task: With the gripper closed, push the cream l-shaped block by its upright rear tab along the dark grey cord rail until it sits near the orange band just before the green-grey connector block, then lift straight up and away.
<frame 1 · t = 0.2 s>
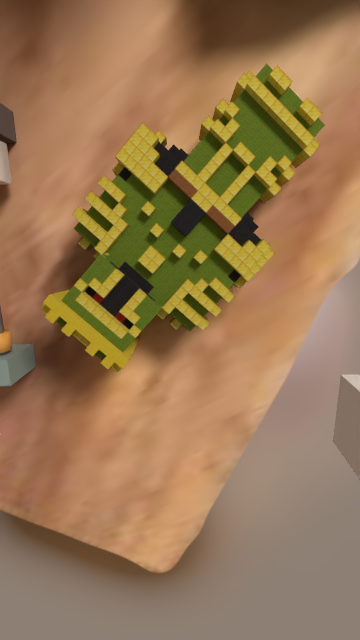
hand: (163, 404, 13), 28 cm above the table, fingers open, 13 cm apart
toy: (184, 227, 38), on the table
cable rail: (4, 250, 39), on the table
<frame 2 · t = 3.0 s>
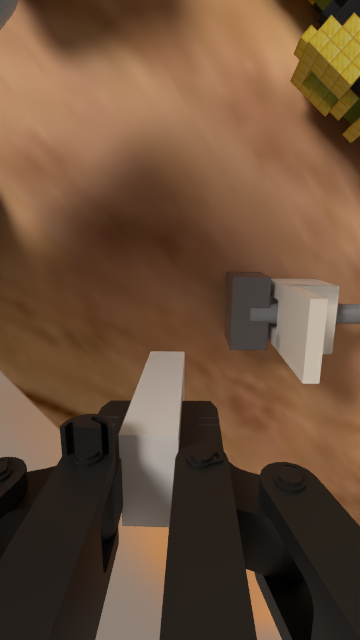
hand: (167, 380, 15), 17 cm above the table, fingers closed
cream l-shaped block: (309, 321, 25), point 7 cm above the table, slide at 0.0 cm
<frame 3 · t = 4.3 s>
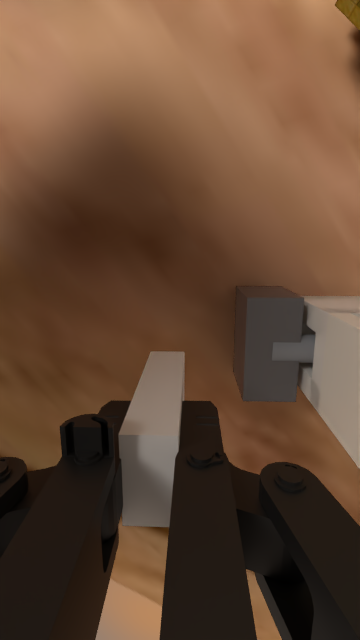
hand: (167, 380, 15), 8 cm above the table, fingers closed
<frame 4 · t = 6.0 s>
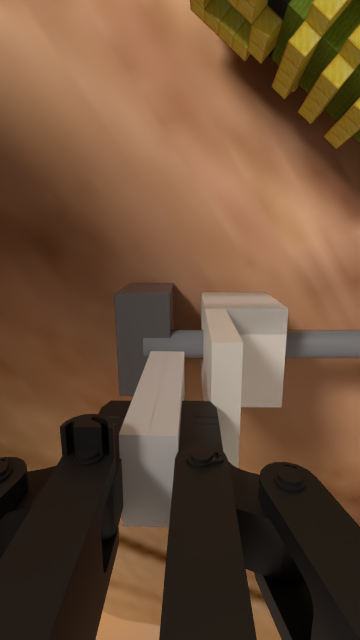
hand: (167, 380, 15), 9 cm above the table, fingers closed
cream l-shaped block: (244, 360, 16), point 7 cm above the table, slide at 1.3 cm, touching gripper
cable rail: (341, 326, 23), on the table
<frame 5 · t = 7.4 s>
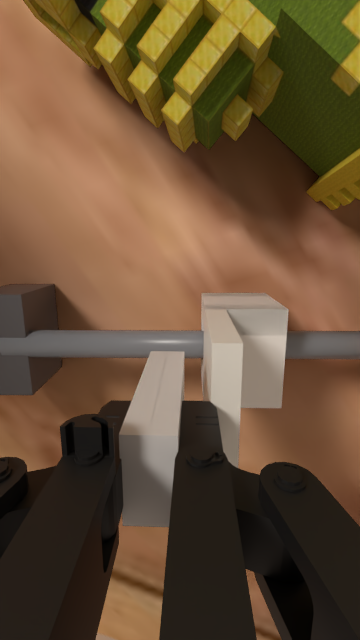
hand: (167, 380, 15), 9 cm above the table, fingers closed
cream l-shaped block: (244, 361, 16), point 7 cm above the table, slide at 9.5 cm, touching gripper
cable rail: (222, 327, 23), on the table
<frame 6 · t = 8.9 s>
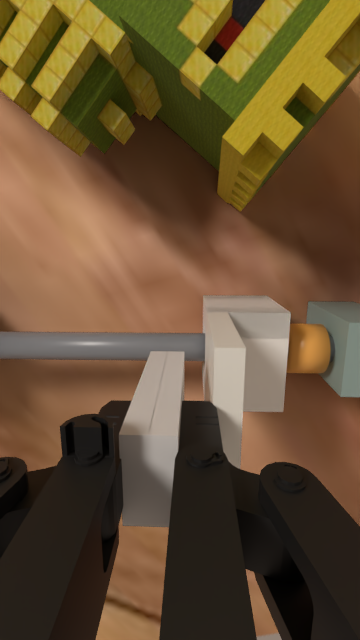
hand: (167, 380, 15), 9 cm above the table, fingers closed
cream l-shaped block: (246, 364, 16), point 7 cm above the table, slide at 15.4 cm, touching gripper
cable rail: (138, 328, 23), on the table
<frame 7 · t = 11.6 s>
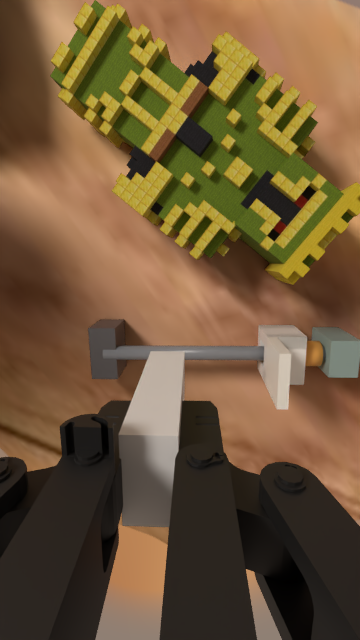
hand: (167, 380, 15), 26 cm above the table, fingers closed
cream l-shaped block: (286, 361, 34), point 7 cm above the table, slide at 15.8 cm
toy: (200, 161, 37), on the table
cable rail: (216, 342, 41), on the table
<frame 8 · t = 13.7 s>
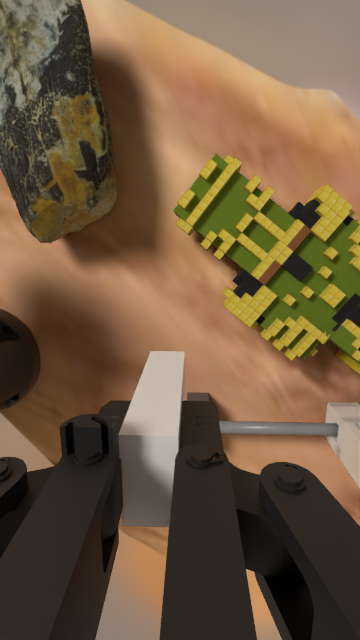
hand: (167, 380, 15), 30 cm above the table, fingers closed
cream l-shaped block: (359, 441, 41), point 7 cm above the table, slide at 15.8 cm
toy: (284, 266, 44), on the table
stone: (62, 131, 41), on the table
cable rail: (288, 413, 48), on the table
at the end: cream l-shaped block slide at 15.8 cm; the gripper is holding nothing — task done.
